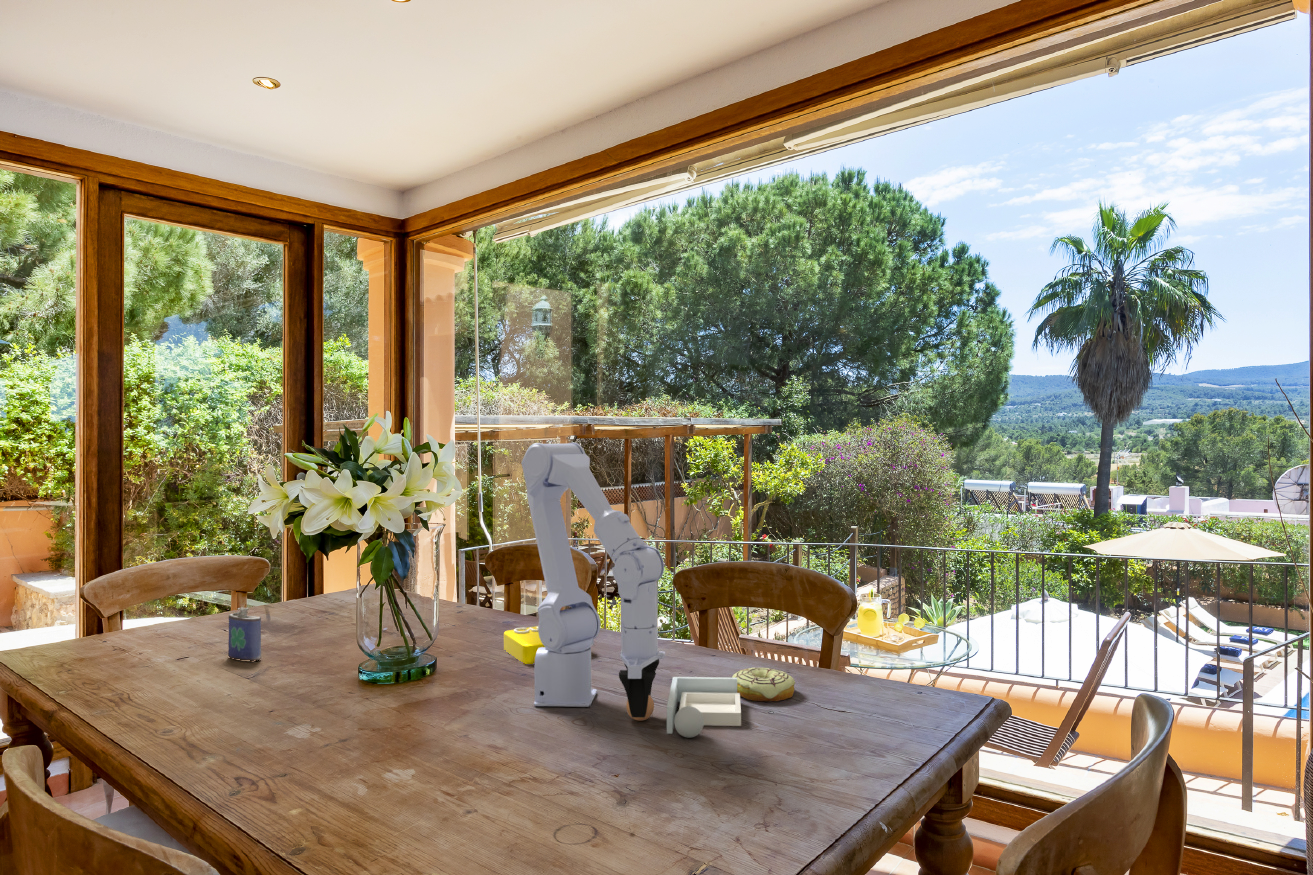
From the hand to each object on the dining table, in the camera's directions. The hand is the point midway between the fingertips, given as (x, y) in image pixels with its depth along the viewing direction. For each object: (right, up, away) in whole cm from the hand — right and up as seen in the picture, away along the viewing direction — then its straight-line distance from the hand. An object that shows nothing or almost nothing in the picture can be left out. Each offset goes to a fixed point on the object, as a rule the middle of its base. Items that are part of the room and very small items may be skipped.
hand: (640, 710), depth 123 cm
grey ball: (+7, -1, -7) cm, 10 cm away
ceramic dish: (+11, -1, +2) cm, 11 cm away
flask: (-83, -3, +38) cm, 91 cm away
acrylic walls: (+10, -1, +1) cm, 10 cm away
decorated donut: (+21, -2, +12) cm, 24 cm away
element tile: (-21, -3, +41) cm, 46 cm away
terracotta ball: (0, -1, 0) cm, 1 cm away
